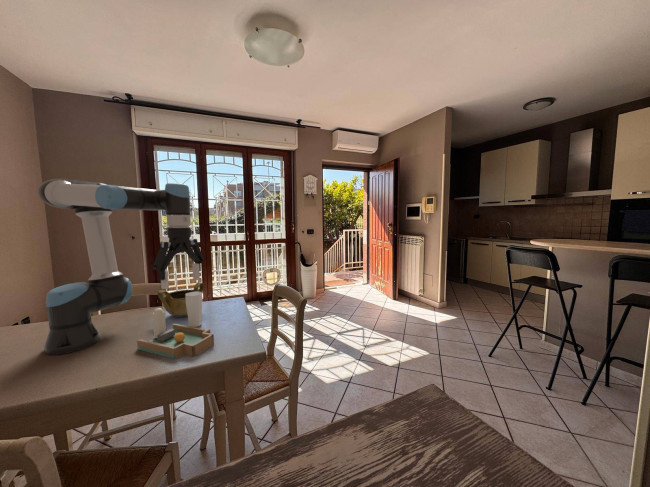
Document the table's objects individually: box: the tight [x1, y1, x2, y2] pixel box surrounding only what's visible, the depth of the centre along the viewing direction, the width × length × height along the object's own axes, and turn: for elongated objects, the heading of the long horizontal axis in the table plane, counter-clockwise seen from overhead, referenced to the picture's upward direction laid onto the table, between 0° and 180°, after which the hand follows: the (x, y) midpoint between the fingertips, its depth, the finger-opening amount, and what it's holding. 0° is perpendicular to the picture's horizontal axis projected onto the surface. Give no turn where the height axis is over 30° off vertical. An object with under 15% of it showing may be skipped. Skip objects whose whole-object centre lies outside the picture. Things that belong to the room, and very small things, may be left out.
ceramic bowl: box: [157, 281, 206, 318], centre depth 130 cm, size 22×17×15 cm
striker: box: [152, 307, 175, 342], centre depth 103 cm, size 6×6×12 cm
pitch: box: [136, 323, 215, 360], centre depth 100 cm, size 24×16×4 cm, turn 70°
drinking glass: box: [185, 292, 203, 328], centre depth 118 cm, size 7×7×15 cm
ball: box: [174, 333, 185, 342], centre depth 100 cm, size 4×4×4 cm
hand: (181, 283), depth 96 cm, fingers open, 13 cm apart
